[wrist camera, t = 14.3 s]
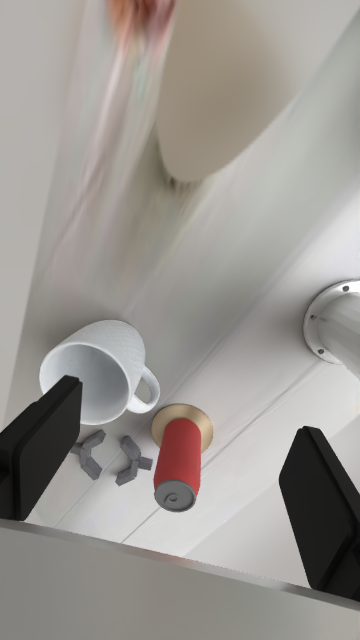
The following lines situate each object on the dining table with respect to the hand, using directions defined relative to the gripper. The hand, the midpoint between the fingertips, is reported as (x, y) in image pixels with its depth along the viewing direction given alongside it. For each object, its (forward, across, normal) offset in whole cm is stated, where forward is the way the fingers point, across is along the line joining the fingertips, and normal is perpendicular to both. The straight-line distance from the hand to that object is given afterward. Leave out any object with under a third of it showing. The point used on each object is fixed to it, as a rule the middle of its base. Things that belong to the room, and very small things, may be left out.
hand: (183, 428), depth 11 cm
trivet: (+28, -2, +25) cm, 38 cm away
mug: (+28, +10, +11) cm, 32 cm away
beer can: (+28, -2, +25) cm, 37 cm away
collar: (+28, +10, +34) cm, 45 cm away
